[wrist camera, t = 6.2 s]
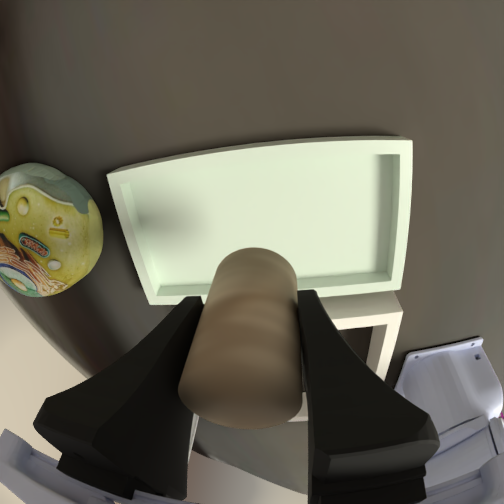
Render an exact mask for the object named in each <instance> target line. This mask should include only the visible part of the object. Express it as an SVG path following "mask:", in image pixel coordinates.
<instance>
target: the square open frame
mask: <svg viewBox="0 0 504 504" xmlns="http://www.w3.org/2000/svg"><path fill="white" fill-rule="evenodd" d="M319 299H320V301H321V303H322V305H323V307H324V309H325V310H326V312H327V314H328V315H329V317H330V319H331V320H332V322H333V323H334V325H335V326H336V328H337V329H338V330H340V329H350V328H359V327H368V326H373V330H372V336H371V341H370V347H369V352H368V357H367V361H366V365H367V366H368V367H369V368H370V369H371V370H372V371H373V372H374V373H376V374H377V375H378V376H379V377H380V378H381V379H382V380H383V381H384V380H385V377H386V374H387V370H388V367H389V364H390V360H391V357H392V353H393V350H394V346H395V342H396V339H397V335H398V331H399V327H400V323H401V318H402V314H403V310H402V308H401V306H400V304H399V302H398V299H397V297H396V295H395V293H394V291H393V290H390V291H381V292H372V293H362V294H352V295H341V296H330V297H319ZM302 395H303V403H302V407H301V410H300V411H299V413H298V414H297V415H296V416H295V417H293V418H292V419H291V420H289V421H287V422H293V421H308V409H307V399H306V392H302Z"/></svg>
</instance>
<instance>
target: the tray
mask: <svg viewBox="0 0 504 504" xmlns="http://www.w3.org/2000/svg"><path fill="white" fill-rule="evenodd" d="M107 178H108V182H109V186H110V189H111V193H112V196H113V200H114V203H115V207H116V210H117V214H118V217H119V220H120V223H121V226H122V230H123V233H124V236H125V239H126V242H127V245H128V248H129V251H130V253H131V256H132V259H133V262H134V265H135V267H136V270H137V273H138V276H139V278H140V281H141V284H142V286H143V289H144V291H145V294H146V296H147V299H148V301H149V304H150V305H177V304H179V303H180V302H181V301H182V300H183V299H184V298H185V297H186V296H201V298H202V302H203V304H205V302H206V299H207V296H208V293H209V290H210V287H211V284H212V281H213V278H214V275H215V273H216V270H217V267H218V265H219V264H220V262H221V261H222V260H223V259H224V258H225V257H226V256H228V255H229V254H231V253H232V252H234V251H237V250H239V249H243V248H250V247H257V248H264V249H268V250H271V251H274V252H276V253H278V254H279V255H281V256H283V257H284V258H285V259H286V260H287V261H288V262H289V263H290V264H291V266H292V267H293V269H294V271H295V274H296V277H297V288H298V290H308V289H314V290H315V291H317V294H318V297H330V296H341V295H352V294H362V293H372V292H381V291H390V290H399V289H400V288H401V282H402V276H403V269H404V262H405V255H406V247H407V239H408V229H409V218H410V206H411V189H412V140H410V139H407V138H404V137H402V136H341V137H320V138H304V139H291V140H280V141H270V142H261V143H252V144H244V145H236V146H229V147H222V148H215V149H209V150H203V151H197V152H191V153H185V154H180V155H175V156H169V157H164V158H159V159H155V160H150V161H145V162H141V163H136V164H132V165H128V166H124V167H120V168H118V169H116V170H114V171H112V172H111V173H109V174H107Z"/></svg>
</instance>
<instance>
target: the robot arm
mask: <svg viewBox="0 0 504 504" xmlns="http://www.w3.org/2000/svg"><path fill="white" fill-rule="evenodd" d="M297 299H298V317H299V329H300V340H301V363H302V370H303V377H304V384H305V391H306V399H307V409H308V504H504V423H503V421H502V419H501V418H498V417H499V415H500V413H501V410H502V406H503V392H502V388H501V384H500V382H499V380H498V378H497V376H496V374H495V372H494V370H493V368H492V366H491V364H490V362H489V360H488V358H487V356H486V354H485V352H484V350H483V348H482V347H481V344H482V342H483V338H482V337H478V338H474V339H470V340H466V341H462V342H458V343H454V344H449V345H445V346H440V347H435V348H430V349H425V350H420V351H415V352H410V353H408V354H407V356H406V358H405V361H404V364H403V367H402V370H401V373H400V376H399V378H398V381H397V384H396V386H395V389H393V388H391V387H390V386H389V385H388V384H387V383H386V382H385V381H383V380H382V379H381V378H380V377H379V376H378V375H377V374H376V373H374V372H373V371H372V370H371V369H370V368H369V367H368V366H367V365H366V364H365V363H364V361H363V360H362V359H361V358H360V357H359V356H358V355H357V354H356V353H355V351H354V350H353V349H352V348H351V347H350V345H349V344H348V343H347V341H346V340H345V339H344V338H343V336H342V335H341V333H340V332H339V331H338V329H337V328H336V326H335V325H334V323H333V322H332V320H331V319H330V317H329V315H328V314H327V312H326V310H325V309H324V307H323V305H322V303H321V301H320V299H319V297H318V294H317V291H315V290H314V289H308V290H297ZM203 308H204V305H203V302H202V298H201V296H186V297H185V298H184V299H183V300H182V301H181V302H180V303H179V304H178V305H177V306H176V307H175V308H174V309H173V310H172V311H171V312H170V313H169V314H168V315H167V316H166V317H165V318H164V319H163V320H162V321H161V322H160V323H159V324H158V325H157V326H156V327H155V328H154V329H153V330H152V331H151V332H150V333H149V334H148V335H147V336H146V337H145V338H144V339H143V340H141V341H140V342H139V343H138V344H137V345H136V346H135V347H134V348H133V349H131V350H130V351H129V352H128V353H126V354H125V355H124V356H122V357H121V358H120V359H119V360H117V361H116V362H114V363H113V364H112V365H110V366H108V367H107V368H105V369H104V370H102V371H101V372H99V373H98V374H96V375H95V376H93V377H91V378H89V379H87V380H86V381H84V382H82V383H80V384H78V385H76V386H74V387H72V388H70V389H68V390H65V391H63V392H60V393H58V394H56V395H53V396H50V397H48V398H46V399H45V401H44V403H43V405H42V407H41V409H40V410H39V412H38V414H37V416H36V418H35V420H34V422H33V425H34V428H35V430H36V431H37V432H38V433H39V434H40V435H41V436H42V437H43V438H45V439H46V440H47V441H48V442H49V443H50V444H52V445H53V446H54V447H55V448H57V449H58V450H59V451H60V452H62V456H61V458H60V460H59V461H57V460H55V459H53V458H51V457H49V456H47V455H45V454H43V453H41V452H39V451H37V450H36V449H34V448H32V446H31V445H29V444H28V443H27V442H26V441H24V440H23V439H22V438H20V437H19V436H17V435H15V434H14V433H12V432H11V431H9V430H7V429H4V431H3V433H2V435H1V437H0V482H1V483H2V484H3V485H5V486H6V487H7V488H8V489H9V490H11V491H12V492H13V493H14V494H15V495H16V496H17V497H19V498H20V499H21V500H22V501H23V502H25V503H26V504H115V503H114V501H115V502H118V503H121V504H198V503H192V502H186V501H182V500H184V499H185V498H186V497H187V467H188V456H189V445H190V437H191V429H192V422H193V416H194V413H193V412H192V411H191V410H190V409H188V408H187V407H186V406H185V405H184V403H183V402H182V401H181V399H180V397H179V394H178V386H179V382H180V379H181V376H182V373H183V369H184V366H185V363H186V360H187V357H188V354H189V351H190V348H191V344H192V341H193V338H194V335H195V332H196V329H197V326H198V323H199V320H200V317H201V314H202V311H203Z"/></svg>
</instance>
